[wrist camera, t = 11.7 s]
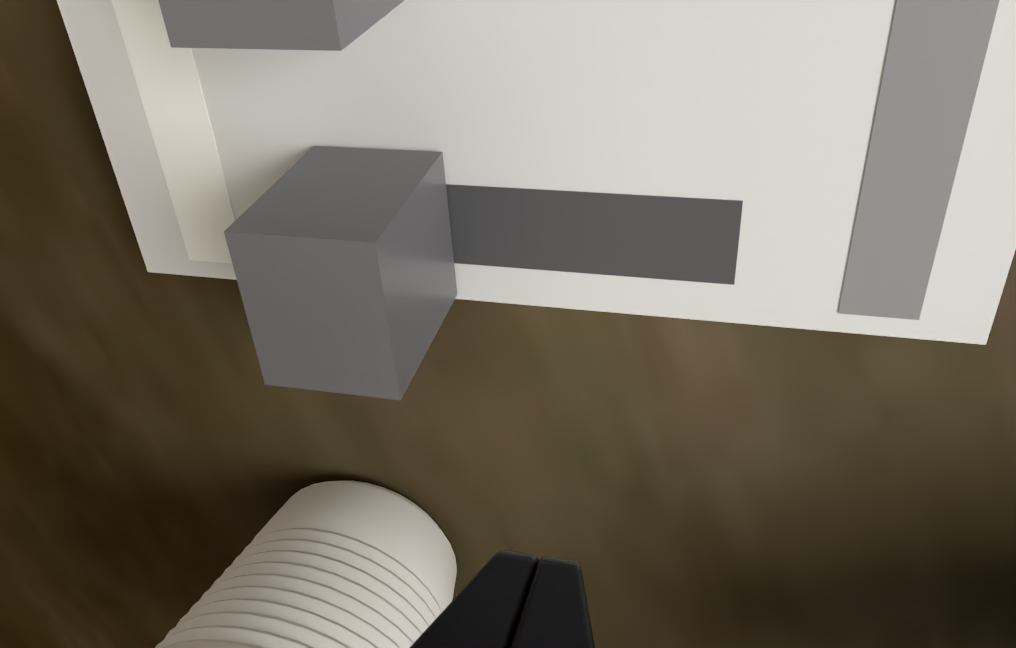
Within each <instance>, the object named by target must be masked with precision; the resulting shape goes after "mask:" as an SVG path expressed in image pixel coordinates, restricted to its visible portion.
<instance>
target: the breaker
mask: <svg viewBox="0 0 1016 648" xmlns="http://www.w3.org/2000/svg"><path fill="white" fill-rule="evenodd" d="M224 235H225V238H226V242H227V246H228V249H229V253H230V257H231V260H232V264H233V268H234V271H235V275H236V279H237V283H238V286H239V290H240V294H241V297H242V301H243V305H244V308H245V312H246V316H247V320H248V323H249V327H250V331H251V334H252V338H253V342H254V345H255V349H256V353H257V357H258V360H259V364H260V368H261V371H262V375H263V379H264V382H265V385H273V386H282V387H291V388H299V389H308V390H317V391H325V392H334V393H342V394H351V395H360V396H368V397H377V398H385V399H394V400H401V399H402V397H403V395H404V393H405V391H406V389H407V388H408V386H409V384H410V382H411V380H412V378H413V376H414V374H415V373H416V371H417V369H418V367H419V365H420V363H421V361H422V360H423V358H424V356H425V354H426V352H427V350H428V348H429V346H430V345H431V343H432V341H433V339H434V337H435V335H436V333H437V331H438V330H439V328H440V326H441V324H442V322H443V320H444V318H445V317H446V315H447V313H448V311H449V309H450V307H451V305H452V303H453V302H454V300H455V298H456V296H457V285H456V276H455V266H454V257H453V247H452V238H451V228H450V219H449V209H448V200H447V190H446V181H445V171H444V162H443V152H432V151H410V150H389V149H368V148H346V147H325V146H313V147H312V148H311V149H310V150H309V151H308V152H307V153H306V154H304V155H303V156H302V157H301V158H300V159H299V160H298V161H297V162H296V163H295V164H294V165H293V166H292V167H291V168H290V169H289V170H288V171H287V172H286V173H285V174H284V175H283V176H281V177H280V178H279V179H278V180H277V181H276V182H275V183H274V184H273V185H272V186H271V187H270V188H269V189H268V190H267V191H266V192H265V193H264V194H263V195H262V196H261V197H260V198H258V199H257V200H256V201H255V202H254V203H253V204H252V205H251V206H250V207H249V208H248V209H247V210H246V211H245V212H244V213H243V214H242V215H241V216H240V217H239V218H238V219H236V220H235V221H234V222H233V223H232V224H231V225H230V226H229V227H228V228H227V229H226V230H225V231H224Z"/></svg>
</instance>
